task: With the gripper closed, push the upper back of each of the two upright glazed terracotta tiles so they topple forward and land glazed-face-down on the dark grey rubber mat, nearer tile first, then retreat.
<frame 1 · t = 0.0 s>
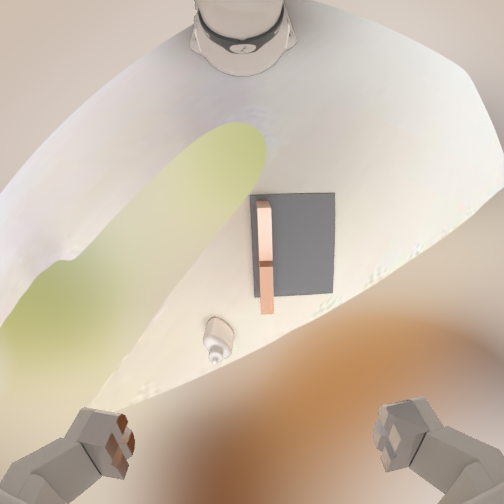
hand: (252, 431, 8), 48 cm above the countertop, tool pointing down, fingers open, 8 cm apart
tile b: (264, 271, 58), resting on mat
eye dropper bottle: (220, 327, 61), on the countertop
mat: (294, 246, 57), on the countertop
tile a: (262, 223, 55), resting on mat
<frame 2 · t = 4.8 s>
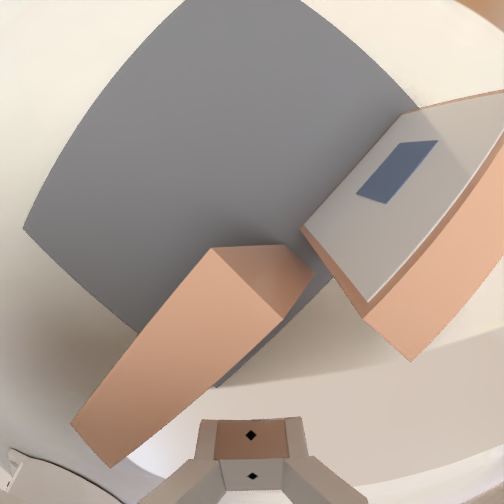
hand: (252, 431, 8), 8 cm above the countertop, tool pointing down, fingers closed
tile b: (368, 181, 14), resting on mat
mat: (219, 173, 14), on the countertop
tile a: (244, 316, 16), point 1 cm above the countertop, tilted 21°, touching mat
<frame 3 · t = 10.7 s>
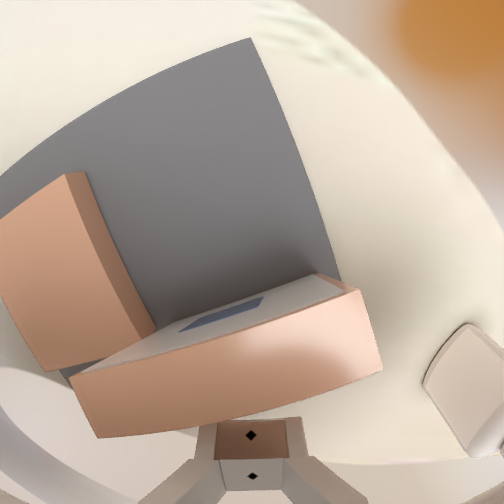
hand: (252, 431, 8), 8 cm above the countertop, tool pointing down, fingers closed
tile b: (249, 318, 16), point 1 cm above the countertop, tilted 19°, touching mat
eye dropper bottle: (449, 355, 18), on the countertop
mat: (129, 248, 15), on the countertop
tile a: (94, 352, 15), point 1 cm above the countertop, tilted 90°, touching mat
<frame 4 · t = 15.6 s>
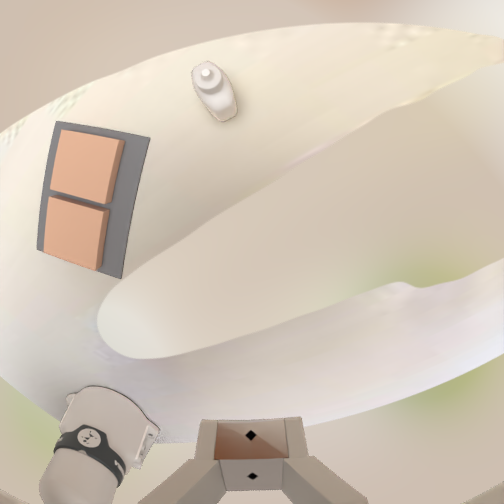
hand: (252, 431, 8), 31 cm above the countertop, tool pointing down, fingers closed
tile b: (114, 171, 35), point 1 cm above the countertop, tilted 90°, touching mat
eye dropper bottle: (219, 100, 34), on the countertop
mat: (84, 197, 37), on the countertop
tile a: (101, 240, 37), point 1 cm above the countertop, tilted 90°, touching mat
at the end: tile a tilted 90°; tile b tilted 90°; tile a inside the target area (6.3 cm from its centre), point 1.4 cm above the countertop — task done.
